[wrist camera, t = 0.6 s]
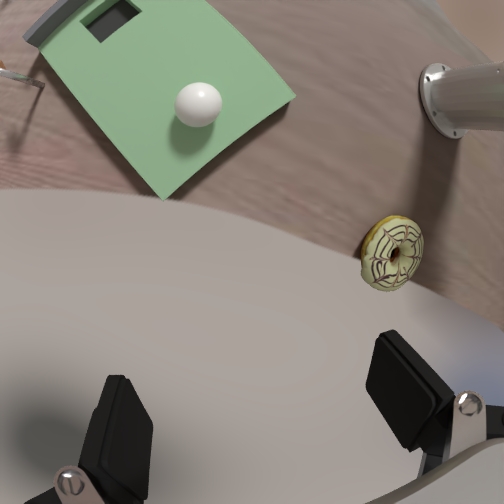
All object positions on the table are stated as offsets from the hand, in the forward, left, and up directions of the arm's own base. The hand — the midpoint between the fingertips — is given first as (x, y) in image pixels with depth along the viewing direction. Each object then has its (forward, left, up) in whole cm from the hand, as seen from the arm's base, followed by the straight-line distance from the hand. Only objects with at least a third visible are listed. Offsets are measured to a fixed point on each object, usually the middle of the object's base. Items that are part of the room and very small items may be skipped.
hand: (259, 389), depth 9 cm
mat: (-6, -22, -24) cm, 33 cm away
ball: (-6, -12, -20) cm, 24 cm away
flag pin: (+6, -32, -24) cm, 41 cm away
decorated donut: (-15, +17, -25) cm, 34 cm away
